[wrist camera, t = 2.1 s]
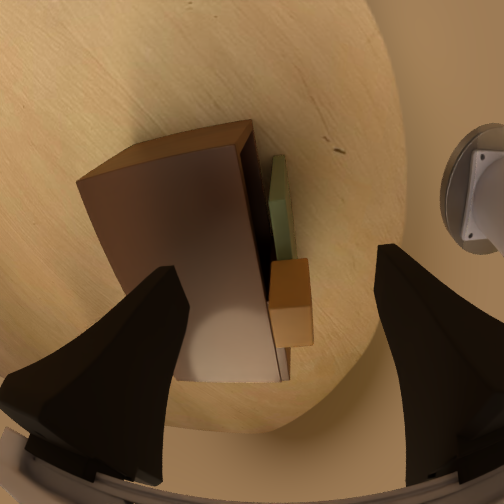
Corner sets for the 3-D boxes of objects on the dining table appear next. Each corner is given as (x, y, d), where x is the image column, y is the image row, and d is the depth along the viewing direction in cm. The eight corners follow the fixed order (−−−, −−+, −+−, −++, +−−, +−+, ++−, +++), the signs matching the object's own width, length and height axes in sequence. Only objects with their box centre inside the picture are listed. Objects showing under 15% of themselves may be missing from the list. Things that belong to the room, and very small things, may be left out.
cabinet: (261, 117, 16) (250, 141, 11) (291, 315, 25) (290, 382, 19) (132, 145, 18) (75, 181, 12) (194, 320, 26) (176, 380, 21)
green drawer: (295, 153, 17) (307, 237, 9) (306, 262, 21) (314, 380, 13) (268, 156, 17) (254, 243, 9) (284, 264, 21) (281, 382, 13)
